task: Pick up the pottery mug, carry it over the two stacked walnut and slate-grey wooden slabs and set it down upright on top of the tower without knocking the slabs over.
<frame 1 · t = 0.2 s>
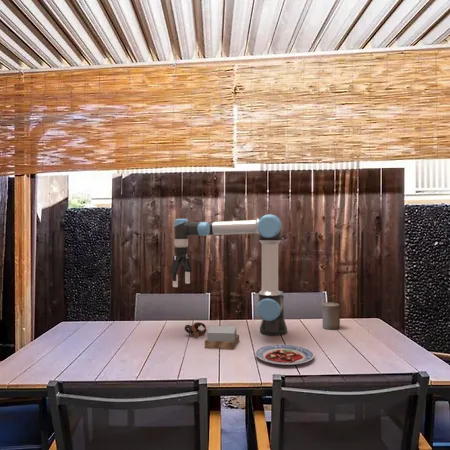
hand: (181, 285, 213), 27 cm above the table, tool pointing down, fingers open, 13 cm apart
ceramic plate: (284, 358, 172), on the table
base slab: (222, 345, 193), on the table, touching top slab
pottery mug: (195, 336, 208), on the table
pillar candle: (331, 328, 221), on the table
top slab: (222, 337, 193), point 3 cm above the table, touching base slab
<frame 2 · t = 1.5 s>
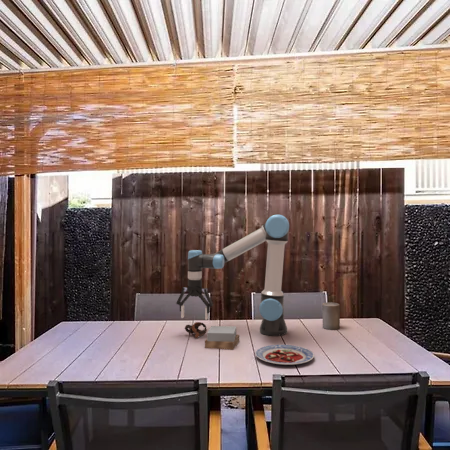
hand: (194, 318, 208), 9 cm above the table, tool pointing down, fingers open, 13 cm apart
nothing on the table moved.
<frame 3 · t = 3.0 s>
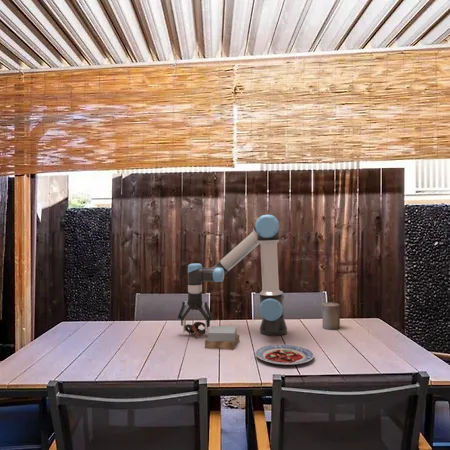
hand: (195, 332, 208), 2 cm above the table, tool pointing down, fingers closed on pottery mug, 12 cm apart
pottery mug: (195, 335, 209), on the table, touching gripper
everything else where it was.
when the fingers open (11 cm above the table, at t = 8.9 s): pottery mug drops 2 cm, resting on top slab.
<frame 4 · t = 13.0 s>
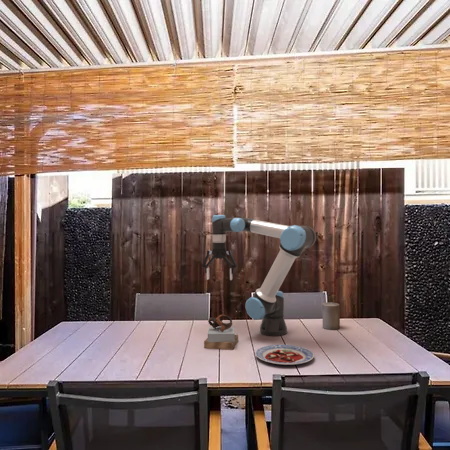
hand: (219, 279, 219), 29 cm above the table, tool pointing down, fingers open, 13 cm apart
base slab: (221, 346, 193), on the table
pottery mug: (220, 330, 193), point 7 cm above the table, touching top slab
top slab: (221, 338, 192), point 3 cm above the table, touching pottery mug
everything else where it was.
at the end: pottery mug inside the target area on the top slab (1.1 cm from its centre), point 3.9 cm above the top slab's base; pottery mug tilted 1°; top slab moved 0.9 cm from its start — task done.
